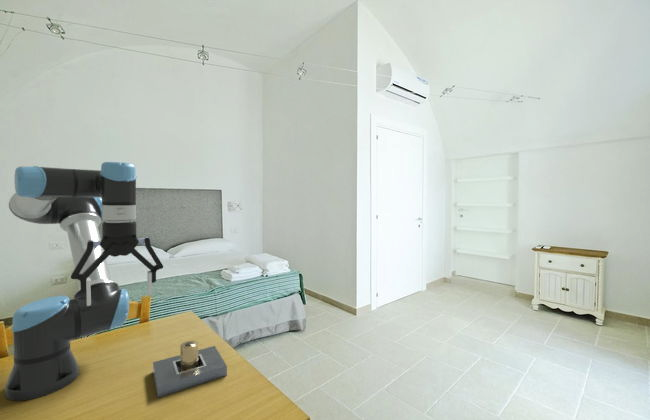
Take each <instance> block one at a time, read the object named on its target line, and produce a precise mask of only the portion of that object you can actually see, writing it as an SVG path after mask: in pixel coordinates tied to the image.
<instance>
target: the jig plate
mask: <svg viewBox="0 0 650 420" xmlns="http://www.w3.org/2000/svg"><path fill="white" fill-rule="evenodd" d="M227 367H228V365H227V363H226V362H225V360H224V358H223V357H222V356H221V354H220V352H219V350H218V349H217V348H216V346H215V345H214V346H209V347H205V348H202V349H198V367H197V368H194V369H190V370H187V371H183V372H181V356H180V354H179V355H176V356H171V357H168V358H164V359H159V360H156V361H153V362H152V372H153V373H152V374H153V379H154V385H155V390H156V394H157V399H159V398H162V397H165V396H168V395H171V394H173V393H176V392H180V391H183V390H186V389H189V388H193V387H196V386H198V385H202V384H205V383H207V382H211V381H215V380H217V379H221V378H224V377H226V376H227V375H228V368H227Z"/></svg>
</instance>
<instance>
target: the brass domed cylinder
mask: <svg viewBox="0 0 650 420" xmlns="http://www.w3.org/2000/svg"><path fill="white" fill-rule="evenodd" d="M179 347H180V348H179V349H180V350H179V353H180V354H179V355H180V356H181V370H180V372H183V371H187V370H190V369H194V368H197V367H199V365H198V350H199V341H197V340H186V341H183V342H182V343H181V344H180V346H179Z"/></svg>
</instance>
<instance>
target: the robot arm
mask: <svg viewBox="0 0 650 420" xmlns="http://www.w3.org/2000/svg"><path fill="white" fill-rule="evenodd" d="M137 177H138V176H137V173H136V166H135V165H134V164H133V163H130V162H129V163H127V162H120V161H118V162H116V161H104V162H102V163H101V165H100V170H98V169H97V170H95V169H79V168H78V169H75V168H61V167H44V166H37V165H35V166H34V165H33V166H18V167H16V168H15V170H14V190H15V191H14V192H15V193H14V194H12V196H11V197H10V199H9V201H8V208H9V210H10V212H11V213H12V214H13V215H14V216H15V217H16V218H18V219H20V220H23V221H25V222H29V223H33V224H39V225H53V224H54V225H55V224H56V225H57V224H59V227H60V228H61V230H62V231H64V232H66V233H67V237H68V241H69V247H70V250H71V257H72V263H73V265H74V266H73V267H74V269H73V271H72V273H71V275H70V279H71V280H76V281H77V286H78V290H77V291H76V292H75V293H74V295H73V299H70V298H69V297H68V296H67V295H57V296H49V297H45V298H42V299H40V298H39V299H37V300H34V301H31V302H29V303H27V304H25V305H22V306H21V307H20V308H18V309H17V310H16V311H15V312H14V313H13V315H12V326H11V332H12V339H13V340H12V342H13V366H12V367H11V371H10V374H9V376H8V379H7V382H6V384H5V397H6V399H7V400H11V401H27V400H28V401H29V400H33V399H37V398H42V397H44V396H47V395H51V394H53V393H55V392H58V391H59V390H62V389H63V388H65V387H67V386H68V385H70V384H72V383H73V382H74V381H75V380H76V379H77V378H78V376H79V375H80V368H79V367H80V365H79V363H78V362H77V360H76V358H75V356H74V353H73V352H72V350H71V341H72V340H76V339H80V338H84V337H87V336H91V335H95V334H98V333H101V332H105V331H110V330H111V329H115V328H117V327H121V326H123V325H124V324H125V323H126V321H127V319H128V318H129V317H128V316H129V310H130V295H129V293H128V290H127V289H126V288H120V286H119V284H118V282H116V281H114V280H112V278H111V274H110V270H109V267H108V263H107V259H108V257H109V256H111V257H114V258H115V257H119V256H122V257H125V256H128V255H130V254H131V255H132V256H134V257H135V258H136V259H137V260H138V261H140V262H141V263H142V264H143V265H144V266H145V267H146V268H147V269H149V270H147V271H146V275H147V276H146V277H147V278H146V279H147V287H146V288H147V295H148V296H149V297H150V296H152V295H153V293H152V292H153V289H152V288H153V287H152V286H153V284H154V283H156V282H157V271H158V270H162V269H163V268H164V265H163V263H162V262H161V260H160V258H159V257H158V255H157V253H156V252H155V250H154V249H153V247H152V246H151V240H150V237H148V236H144V237H142V238H138V237H137V221H135V220H137ZM103 221H104V222H103ZM102 222H103V223H102ZM100 225H101V231H102V233H101V234H102V236H101V234H100V230H99V226H100ZM139 244H141V245H142V246H143V247H145V248H146V250H147V252H148V253H149V255H150V257H151V258H152V259H153V261H154V263H155V265H153V264H152V263H151V262H150V261H149V260H148V259H147V258H146V257H144V256H143V255H142V254H141V253H140V252H139V251H138V250H137V249H136V247H137V246H138V245H139Z"/></svg>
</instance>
